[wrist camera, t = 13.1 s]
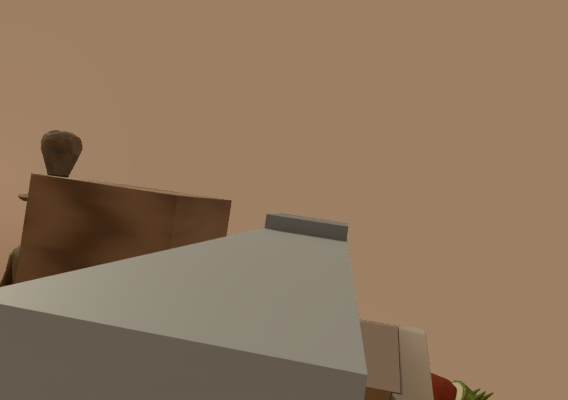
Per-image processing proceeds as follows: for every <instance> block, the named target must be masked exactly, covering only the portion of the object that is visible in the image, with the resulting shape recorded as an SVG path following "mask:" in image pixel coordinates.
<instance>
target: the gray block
mask: <svg viewBox="0 0 568 400" xmlns="http://www.w3.org/2000/svg"><path fill="white" fill-rule="evenodd" d="M347 232H348V225H347V223H341V222H335V221H328V220H322V219H315V218H308V217H302V216H296V215H289V214H282V213H280V214H267V216H266V223H265V228H262V229H258V230H254V231H249V232H244V233H240V234H235V235H231V236H226V237H222V238H218V239H213V240H209V241H204V242H200V243H195V244H191V245H186V246H182V247H177V248H173V249H168V250H164V251H160V252H155V253H151V254H146V255H142V256H137V257H133V258H128V259H124V260H119V261H115V262H111V263H106V264H102V265H97V266H93V267H88V268H84V269H79V270H75V271H70V272H66V273H61V274H57V275H53V276H48V277H44V278H39V279H35V280H30V281H26V282H21V283H17V284H12V285H8V286H4V287H0V400H364V396H365V389H366V383H367V376H368V374H367V367H366V361H365V354H364V348H363V341H362V335H361V328H360V321H359V315H358V308H357V302H356V295H355V289H354V282H353V276H352V269H351V262H350V256H349V249H348V243H347Z"/></svg>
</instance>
